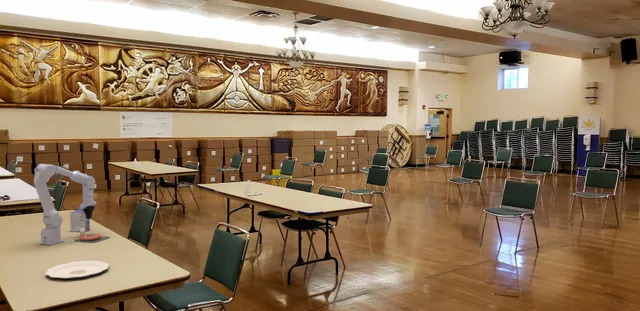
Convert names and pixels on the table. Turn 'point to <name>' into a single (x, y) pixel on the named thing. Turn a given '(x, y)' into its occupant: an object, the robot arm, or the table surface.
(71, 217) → the ink cartridge box
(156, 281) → the table surface
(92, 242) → the bench plate
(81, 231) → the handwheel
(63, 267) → the plate
